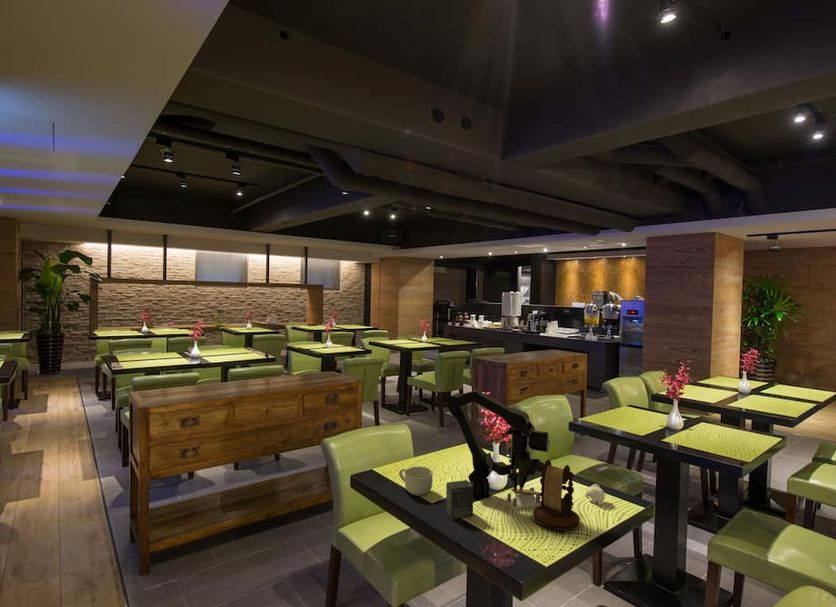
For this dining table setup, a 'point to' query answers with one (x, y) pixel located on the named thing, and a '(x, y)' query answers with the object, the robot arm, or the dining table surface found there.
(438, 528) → the dining table surface
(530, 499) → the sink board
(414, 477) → the teacup
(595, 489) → the elephant figurine
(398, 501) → the dining table surface
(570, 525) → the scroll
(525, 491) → the strap
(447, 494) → the box
